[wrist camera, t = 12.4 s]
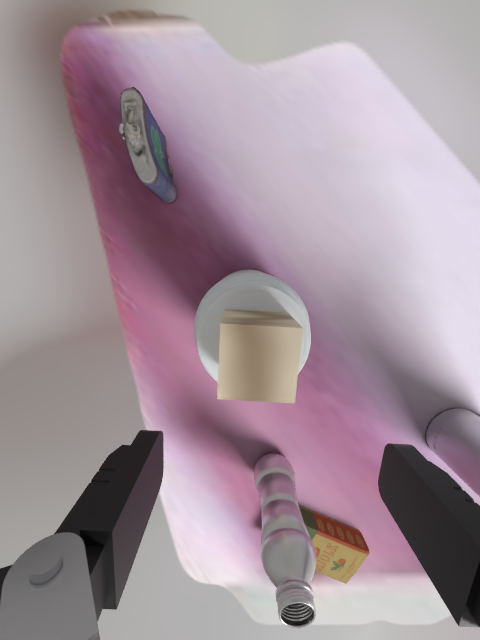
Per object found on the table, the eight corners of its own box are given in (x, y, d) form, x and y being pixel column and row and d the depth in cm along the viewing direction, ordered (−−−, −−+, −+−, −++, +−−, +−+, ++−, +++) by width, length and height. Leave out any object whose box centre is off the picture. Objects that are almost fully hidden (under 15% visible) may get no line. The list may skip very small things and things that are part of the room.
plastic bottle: (256, 445, 45) (270, 586, 25) (295, 450, 45) (338, 595, 25) (250, 476, 46) (257, 634, 26) (287, 482, 46) (322, 642, 27)
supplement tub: (299, 330, 40) (341, 375, 24) (227, 359, 41) (219, 423, 25) (270, 255, 38) (293, 249, 22) (194, 288, 39) (161, 307, 23)
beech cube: (288, 312, 23) (303, 328, 17) (282, 371, 24) (294, 403, 18) (225, 309, 23) (220, 323, 17) (222, 368, 24) (217, 399, 18)
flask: (179, 201, 36) (154, 176, 26) (159, 205, 37) (126, 181, 26) (164, 128, 35) (131, 68, 24) (143, 132, 35) (100, 75, 24)
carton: (337, 559, 50) (346, 586, 46) (264, 530, 49) (266, 555, 45) (360, 529, 49) (371, 554, 45) (285, 497, 47) (289, 520, 43)
